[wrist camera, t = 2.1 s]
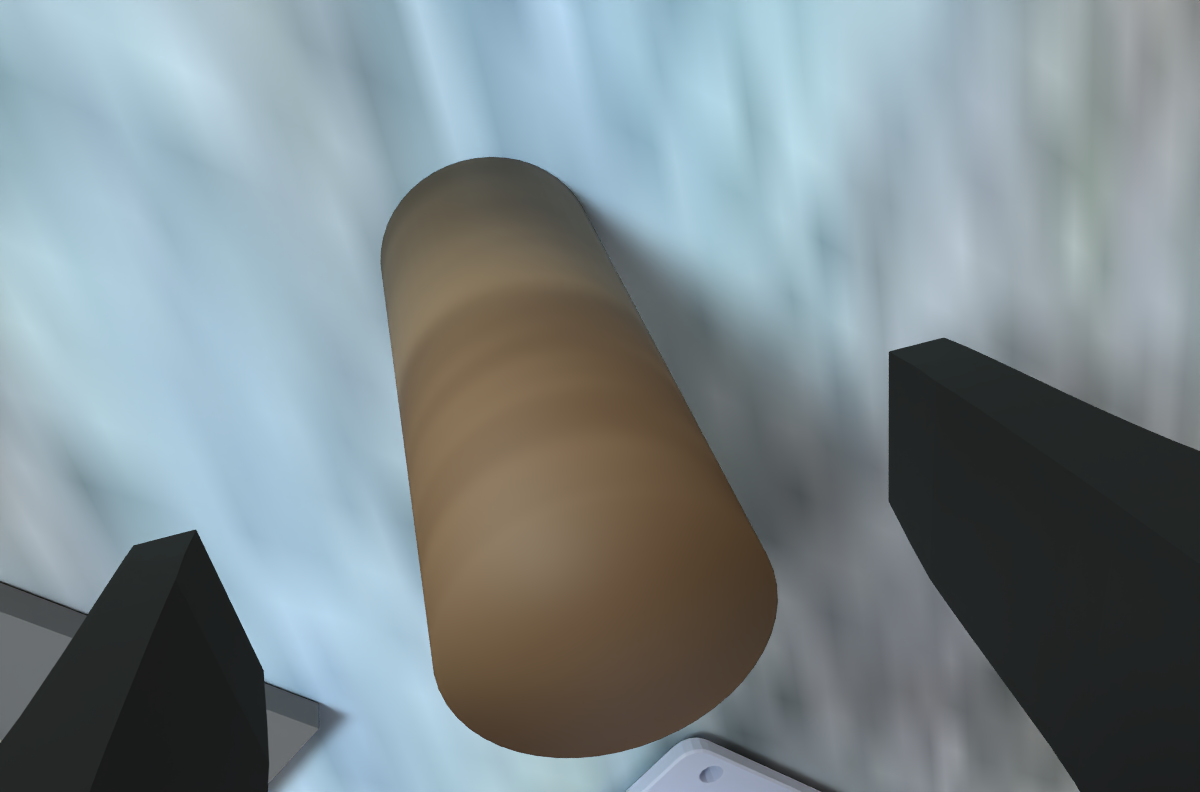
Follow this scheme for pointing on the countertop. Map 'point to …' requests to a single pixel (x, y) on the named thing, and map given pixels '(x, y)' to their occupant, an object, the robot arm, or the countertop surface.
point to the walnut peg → (557, 479)
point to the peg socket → (43, 631)
